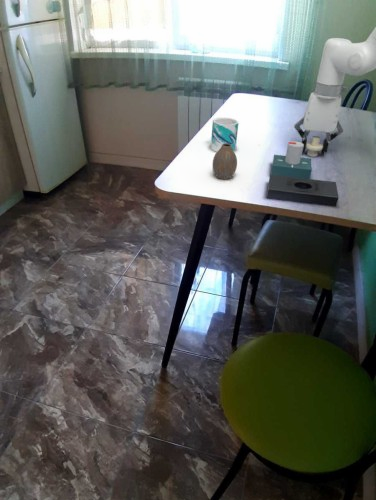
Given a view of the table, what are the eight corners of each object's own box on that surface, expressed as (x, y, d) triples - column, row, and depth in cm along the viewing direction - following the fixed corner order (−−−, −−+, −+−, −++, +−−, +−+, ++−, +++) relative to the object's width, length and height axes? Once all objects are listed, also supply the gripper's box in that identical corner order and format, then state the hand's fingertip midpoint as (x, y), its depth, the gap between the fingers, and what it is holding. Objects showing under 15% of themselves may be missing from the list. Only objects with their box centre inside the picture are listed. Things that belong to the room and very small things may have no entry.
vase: (214, 181, 115) (217, 149, 109) (209, 172, 120) (211, 140, 114) (238, 181, 116) (242, 149, 110) (232, 171, 121) (235, 140, 115)
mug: (208, 150, 133) (210, 123, 127) (214, 139, 141) (217, 112, 136) (233, 153, 132) (236, 125, 126) (238, 141, 140) (241, 115, 135)
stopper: (320, 152, 136) (324, 135, 132) (321, 158, 132) (325, 141, 128) (303, 150, 136) (307, 133, 133) (303, 156, 132) (307, 139, 129)
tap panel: (308, 168, 125) (311, 157, 123) (309, 180, 119) (311, 169, 117) (272, 164, 126) (274, 153, 124) (271, 175, 120) (273, 165, 118)
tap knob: (299, 159, 122) (304, 141, 118) (300, 165, 119) (304, 146, 115) (284, 158, 122) (288, 139, 119) (284, 163, 119) (288, 144, 116)
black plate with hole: (333, 190, 114) (335, 181, 112) (335, 206, 107) (338, 197, 105) (268, 183, 116) (270, 174, 114) (266, 198, 109) (268, 189, 107)
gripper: (356, 89, 123) (338, 151, 135) (298, 84, 125) (286, 146, 137) (358, 95, 118) (340, 160, 130) (298, 90, 119) (285, 154, 132)
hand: (312, 152), depth 134 cm, fingers closed on stopper, 5 cm apart
